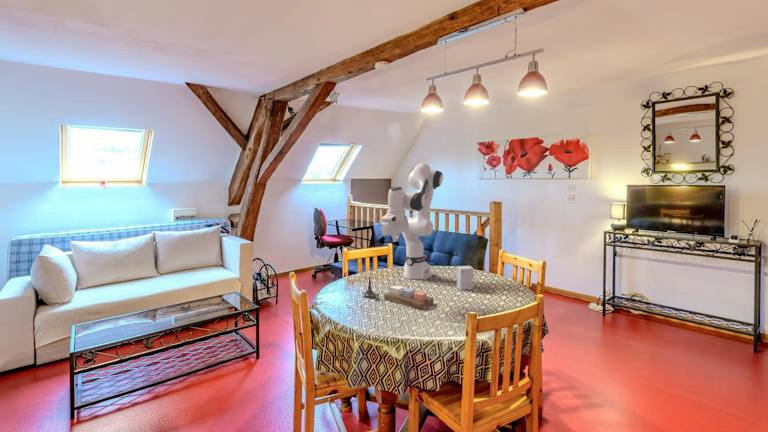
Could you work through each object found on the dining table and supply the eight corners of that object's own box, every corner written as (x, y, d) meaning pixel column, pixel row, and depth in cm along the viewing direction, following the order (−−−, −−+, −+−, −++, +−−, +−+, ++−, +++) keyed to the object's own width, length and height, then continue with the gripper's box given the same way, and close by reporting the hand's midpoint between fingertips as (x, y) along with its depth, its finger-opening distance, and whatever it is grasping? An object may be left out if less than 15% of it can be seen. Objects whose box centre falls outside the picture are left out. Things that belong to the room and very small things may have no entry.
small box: (469, 286, 243) (469, 265, 241) (473, 289, 237) (473, 268, 235) (456, 286, 242) (456, 265, 240) (460, 290, 236) (460, 268, 234)
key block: (397, 294, 228) (397, 289, 227) (433, 303, 212) (433, 298, 212) (384, 299, 219) (384, 294, 218) (420, 309, 203) (420, 304, 203)
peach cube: (418, 299, 214) (418, 290, 213) (426, 302, 211) (426, 292, 210) (413, 302, 210) (413, 293, 210) (421, 304, 207) (421, 295, 206)
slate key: (407, 296, 219) (407, 288, 218) (415, 298, 216) (415, 289, 215) (402, 299, 215) (402, 290, 214) (409, 301, 212) (409, 292, 211)
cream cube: (396, 294, 224) (396, 285, 223) (403, 295, 220) (404, 287, 220) (391, 296, 220) (391, 287, 219) (398, 298, 217) (398, 289, 216)
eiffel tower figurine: (380, 302, 216) (380, 278, 214) (361, 302, 215) (361, 278, 214) (379, 293, 231) (379, 270, 229) (361, 293, 230) (361, 271, 228)
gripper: (402, 214, 229) (402, 238, 231) (379, 218, 214) (379, 243, 215) (411, 215, 225) (411, 239, 227) (388, 219, 210) (388, 244, 211)
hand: (395, 241), depth 221 cm, fingers closed
